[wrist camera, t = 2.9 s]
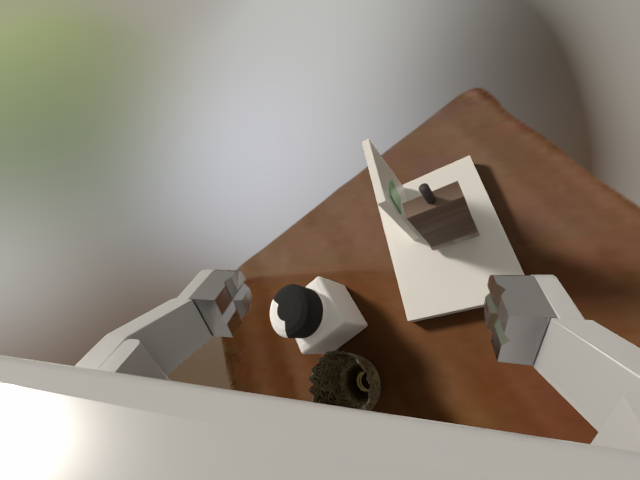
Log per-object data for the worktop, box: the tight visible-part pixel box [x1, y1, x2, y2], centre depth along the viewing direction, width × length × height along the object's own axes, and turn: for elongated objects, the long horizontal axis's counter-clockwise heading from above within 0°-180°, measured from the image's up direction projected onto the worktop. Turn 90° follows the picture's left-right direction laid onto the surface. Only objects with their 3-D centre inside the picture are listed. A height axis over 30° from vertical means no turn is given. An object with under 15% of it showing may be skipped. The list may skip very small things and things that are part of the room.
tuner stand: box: [362, 139, 524, 322], centre depth 32 cm, size 18×13×14 cm
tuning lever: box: [402, 181, 480, 250], centre depth 29 cm, size 2×5×14 cm, turn 99°
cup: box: [309, 350, 381, 411], centre depth 34 cm, size 8×7×8 cm
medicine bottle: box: [270, 277, 368, 354], centre depth 37 cm, size 7×7×12 cm
